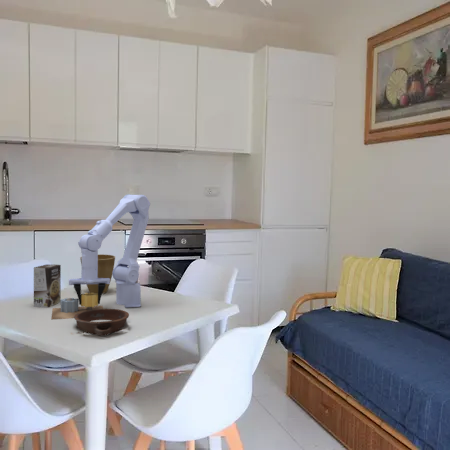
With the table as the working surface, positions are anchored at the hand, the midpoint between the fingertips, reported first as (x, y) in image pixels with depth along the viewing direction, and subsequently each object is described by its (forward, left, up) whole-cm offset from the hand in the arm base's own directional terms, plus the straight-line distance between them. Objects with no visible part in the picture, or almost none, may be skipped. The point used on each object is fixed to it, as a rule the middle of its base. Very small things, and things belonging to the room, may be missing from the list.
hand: (89, 303), depth 179 cm
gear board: (+4, +3, -3) cm, 6 cm away
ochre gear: (0, 0, -1) cm, 1 cm away
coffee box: (+15, -12, -4) cm, 20 cm away
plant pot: (-5, -35, -4) cm, 36 cm away
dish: (-3, +22, -4) cm, 22 cm away
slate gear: (+7, 0, -2) cm, 7 cm away
